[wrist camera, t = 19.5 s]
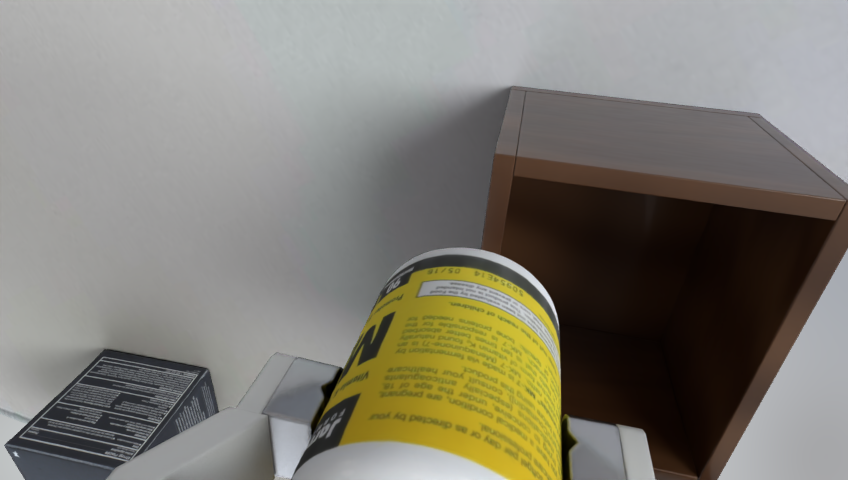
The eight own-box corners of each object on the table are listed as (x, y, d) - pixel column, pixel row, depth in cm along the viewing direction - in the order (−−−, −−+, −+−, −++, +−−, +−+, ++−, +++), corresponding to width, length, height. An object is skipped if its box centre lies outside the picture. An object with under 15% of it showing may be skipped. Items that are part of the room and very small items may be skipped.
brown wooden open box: (511, 85, 28) (494, 153, 19) (759, 113, 26) (874, 203, 17) (478, 311, 36) (454, 437, 27) (666, 345, 34) (711, 492, 25)
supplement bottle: (393, 220, 12) (187, 584, 5) (585, 269, 12) (643, 736, 5) (370, 361, 15) (208, 739, 8) (528, 406, 15) (513, 849, 7)
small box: (121, 397, 50) (28, 496, 41) (103, 346, 46) (-3, 442, 37) (222, 418, 48) (147, 526, 39) (210, 367, 45) (126, 472, 36)
